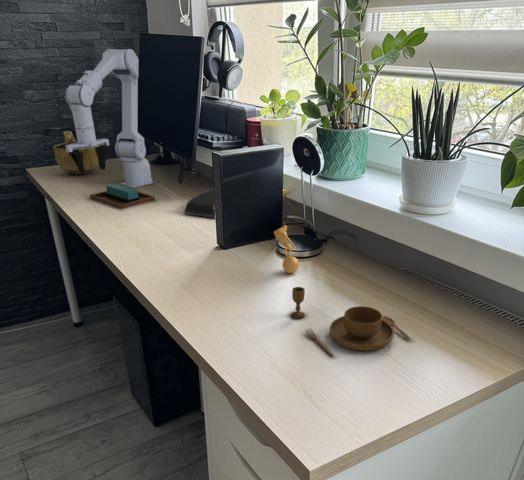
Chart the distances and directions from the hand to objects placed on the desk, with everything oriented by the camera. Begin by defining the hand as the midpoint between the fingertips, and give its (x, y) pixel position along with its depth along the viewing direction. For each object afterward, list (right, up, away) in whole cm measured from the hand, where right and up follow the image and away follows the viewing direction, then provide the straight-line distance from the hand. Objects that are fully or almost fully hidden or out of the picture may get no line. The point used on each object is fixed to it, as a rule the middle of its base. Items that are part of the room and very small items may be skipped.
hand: (92, 171), depth 172 cm
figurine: (+62, -41, -48) cm, 89 cm away
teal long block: (+9, -8, +5) cm, 13 cm away
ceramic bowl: (-17, +12, +38) cm, 44 cm away
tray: (+9, -8, +5) cm, 13 cm away
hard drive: (+41, -14, -4) cm, 44 cm away
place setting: (+73, -55, -71) cm, 116 cm away
